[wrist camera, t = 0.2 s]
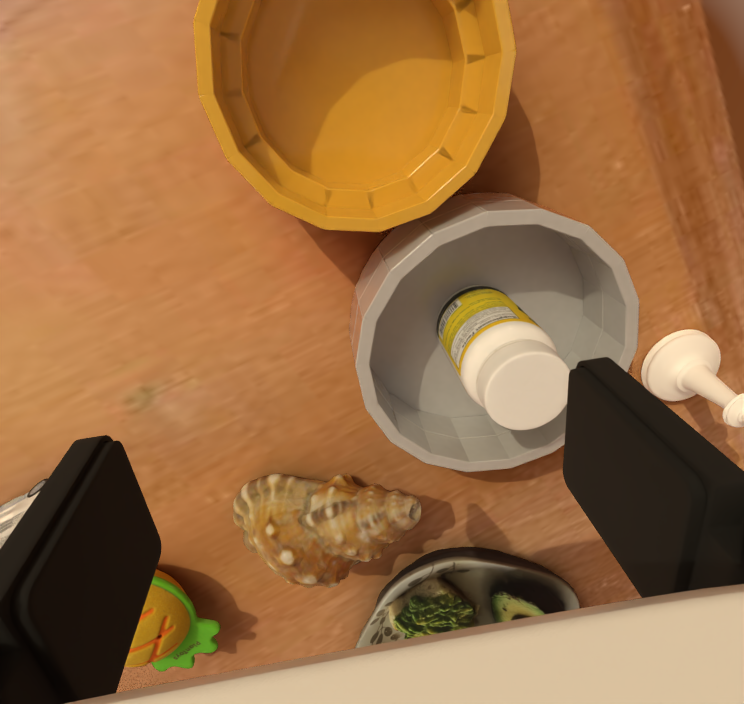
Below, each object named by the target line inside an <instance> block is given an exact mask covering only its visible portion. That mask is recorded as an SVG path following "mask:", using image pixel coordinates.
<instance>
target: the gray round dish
mask: <svg viewBox="0 0 744 704" xmlns="http://www.w3.org/2000/svg"><path fill="white" fill-rule="evenodd" d="M472 285H488V286H492V287H495V288H497V289H499V290H501V291H502V292H503V293H505V294H506V295H507V296H508V297H509V298H510V299H511V300H512V301H513V302H514V303H515V304H516V305H517V306H519V307H520V308H521V309H522V310H523V311H524V312H525V313H526V314H527V315H528V316H529V317H530V318H531V319H532V320H534V321H535V322H536V323H537V324H538V325H539V326H540V327H541V328H542V329H543V330H544V331H545V332H546V333H547V334H548V335H549V337H550V338H551V339H552V341H553V343H554V345H555V347H556V350H557V354H558V355H559V357H560V358H561V359H562V360H563V361H564V362H565V364H566V365H567V367H568V368H569V370H572V369H576V366H577V364H578V362H580V361H583V360H589V359H596V358H602V357H609V358H610V359H612V360H613V361H614V362H615V363H616V364H618V365H619V366H620V367H621V368H622V369H624V370H625V371H626V372H628V370H629V367H630V365H631V362H632V360H633V357H634V355H635V352H636V350H637V345H638V323H639V299H638V296H637V293H636V291H635V288H634V285H633V283H632V280H631V277H630V275H629V272H628V269H627V267H626V264H625V261H624V259H623V258H622V257H621V256H620V255H619V254H618V253H617V252H616V251H615V250H614V249H613V248H612V247H611V246H610V245H609V244H608V243H607V242H606V241H605V240H604V239H603V238H602V237H601V236H600V235H599V234H598V233H597V232H596V231H595V230H594V229H592V228H591V227H590V226H589V225H587V224H584V223H582V222H580V221H578V220H575V219H573V218H571V217H569V216H566V215H564V214H562V213H559V212H557V211H555V210H553V209H550V208H548V207H545V206H543V205H540V204H537V203H534V202H531V201H529V200H526V199H523V198H520V197H518V196H515V195H512V194H509V193H471V194H463V195H458V196H455V197H451V198H448V199H447V200H446V201H445V202H444V203H443V204H441V205H440V206H439V207H438V208H437V209H436V210H435V211H434V212H431V214H428V215H426V216H423V217H420V218H418V219H415V220H412V221H409V222H407V223H404V224H401V225H398V226H397V227H396V228H394V229H393V230H392V231H391V232H390V233H389V234H388V235H387V236H386V237H385V238H384V239H383V241H382V242H381V243H380V244H379V246H378V247H377V248H376V250H375V251H374V252H373V253H372V255H371V256H370V258H369V260H368V262H367V263H366V265H365V267H364V269H363V270H362V273H361V275H360V278H359V280H358V282H357V285H356V288H355V291H354V296H353V300H352V306H351V315H350V325H349V333H350V339H351V345H352V350H353V356H354V361H355V367H356V371H357V375H358V379H359V384H360V388H361V392H362V396H363V400H364V404H365V408H366V410H367V411H368V412H369V414H370V415H371V416H372V418H373V419H374V420H375V422H376V423H377V424H378V426H379V427H380V429H381V430H382V431H383V433H384V434H385V435H386V437H387V438H388V439H389V441H391V442H392V443H393V444H395V445H396V446H398V447H400V448H401V449H403V450H405V451H406V452H408V453H409V454H411V455H413V456H414V457H416V458H418V459H419V460H421V461H423V462H424V463H427V464H431V465H436V466H440V467H445V468H450V469H454V470H459V471H464V472H476V471H487V470H498V469H509V468H513V467H516V466H518V465H521V464H524V463H526V462H529V461H532V460H534V459H537V458H540V457H542V456H545V455H548V454H550V453H553V452H554V451H556V450H557V449H559V448H560V447H561V446H563V445H564V444H565V428H566V412H567V404H566V406H565V407H564V409H563V410H562V411H561V412H560V413H559V414H558V415H557V416H556V417H555V418H554V419H552V420H551V421H550V422H548V423H546V424H544V425H542V426H540V427H537V428H534V429H529V430H512V429H508V428H505V427H503V426H501V425H499V424H498V423H496V422H495V421H494V420H493V419H492V418H491V417H490V415H489V414H488V413H487V411H486V409H485V408H484V407H482V406H480V405H479V404H477V403H476V402H475V401H474V400H473V399H472V398H471V397H470V396H469V395H468V393H467V392H466V390H465V388H464V386H463V384H462V383H461V381H460V379H459V377H458V375H457V373H456V372H455V370H454V368H453V366H452V364H451V363H450V361H449V359H448V357H447V356H446V354H445V352H444V350H443V349H442V347H441V345H440V343H439V341H438V338H437V335H436V319H437V316H438V313H439V311H440V309H441V307H442V305H443V304H444V302H445V301H446V300H447V299H448V298H449V297H450V296H451V295H453V294H454V293H455V292H457V291H459V290H461V289H463V288H465V287H468V286H472Z"/></svg>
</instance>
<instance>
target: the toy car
mask: <svg viewBox="0 0 744 704" xmlns="http://www.w3.org/2000/svg"><path fill="white" fill-rule="evenodd" d="M47 480H48V479H44V480H42V481H41V482H39V483H38V484H37V485H36V486H34V487H33V488H32V489H31V490H30V492H28V493H27V494H25V495H24V496H19V497H17V498H15V499H13V500H11V501H9V502H7V503H6V504H4V505H2V506H0V549H1V547H2V546H3V544H4V543H5V541H6V540H7V538H8V537H9V536H10V534H11V533H12V531H13V530H14V528H15V527H16V525H17V524H18V522H19V521H20V520H21V518H22V517H23V515H24V514H25V512H26V511H27V509H28V508H29V507H30V505H31V504H32V502H33V501H34V499H35V498H36V496H37V495H38V493H39V492H40V491H41V489H42V488H43V486H44V485H45V483H46V482H47Z"/></svg>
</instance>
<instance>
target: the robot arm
mask: <svg viewBox="0 0 744 704" xmlns="http://www.w3.org/2000/svg"><path fill="white" fill-rule="evenodd" d="M563 475H564V479H565V482H566V485H567V487H568V488H569V490H570V491H571V493H572V494H573V496H574V497H575V499H576V500H577V502H578V503H579V505H580V506H581V508H582V509H583V511H584V512H585V514H586V515H587V517H588V518H589V520H590V521H591V523H592V524H593V526H594V527H595V528H596V530H597V531H598V533H599V534H600V536H601V537H602V539H603V540H604V542H605V543H606V545H607V546H608V548H609V549H610V551H611V552H612V554H613V555H614V557H615V558H616V560H617V561H618V563H619V564H620V566H621V567H622V569H623V570H624V572H625V573H626V574H627V576H628V577H629V579H630V580H631V582H632V583H633V585H634V586H635V588H636V589H637V591H638V592H639V594H640V595H641V597H642V598H640V599H633V600H627V601H621V602H614V603H608V604H603V605H597V606H591V607H586V608H580V609H574V610H568V611H563V612H557V613H551V614H546V615H540V616H534V617H528V618H523V619H517V620H511V621H505V622H500V623H494V624H488V625H483V626H477V627H471V628H466V629H460V630H454V631H449V632H443V633H438V634H432V635H427V636H421V637H415V638H410V639H404V640H399V641H393V642H388V643H382V644H377V645H371V646H366V647H360V648H355V649H349V650H344V651H338V652H333V653H327V654H322V655H316V656H311V657H305V658H299V659H294V660H289V661H283V662H278V663H272V664H267V665H262V666H256V667H251V668H246V669H240V670H235V671H230V672H224V673H219V674H214V675H208V676H203V677H197V678H192V679H187V680H181V681H176V682H171V683H165V684H160V685H155V686H149V687H144V688H138V689H134V690H129V691H124V692H119V693H116V690H117V687H118V684H119V681H120V678H121V675H122V672H123V669H124V666H125V663H126V660H127V657H128V654H129V651H130V647H131V644H132V641H133V638H134V635H135V632H136V629H137V626H138V623H139V620H140V617H141V614H142V611H143V608H144V604H145V601H146V598H147V595H148V592H149V589H150V586H151V583H152V580H153V577H154V574H155V571H156V568H157V565H158V562H159V558H160V555H161V540H160V537H159V534H158V532H157V529H156V527H155V524H154V522H153V519H152V517H151V514H150V512H149V509H148V507H147V504H146V502H145V499H144V497H143V494H142V492H141V489H140V487H139V484H138V482H137V479H136V477H135V474H134V472H133V469H132V467H131V465H130V462H129V460H128V457H127V455H126V452H125V450H124V447H123V445H122V444H121V442H120V441H113V440H112V439H111V438H110V436H107V435H105V436H98V437H92V438H85V439H79V440H76V441H75V442H74V443H73V444H72V446H71V447H70V448H69V450H68V451H67V453H66V454H65V456H64V457H63V459H62V460H61V462H60V463H59V464H58V466H57V467H56V469H55V470H54V472H53V473H52V475H51V476H50V477H49V479H48V480H47V482H46V483H45V485H44V486H43V488H42V489H41V491H40V492H39V493H38V495H37V496H36V498H35V499H34V501H33V502H32V504H31V505H30V507H29V508H28V509H27V511H26V512H25V514H24V515H23V517H22V518H21V520H20V521H19V522H18V524H17V525H16V527H15V528H14V530H13V531H12V533H11V534H10V536H9V537H8V538H7V540H6V541H5V543H4V544H3V546H2V547H1V549H0V704H744V471H743V470H741V469H740V468H739V467H738V466H737V465H736V464H734V463H733V462H732V461H731V460H730V459H729V458H727V457H726V456H725V455H724V454H723V453H721V452H720V451H719V450H718V449H717V448H716V447H714V446H713V445H712V444H711V443H710V442H708V441H707V440H706V439H705V438H704V437H703V436H701V435H700V434H699V433H698V432H697V431H695V430H694V429H693V428H692V427H691V426H690V425H688V424H687V423H686V422H685V421H684V420H683V419H681V418H680V417H679V416H678V415H677V414H675V413H674V412H673V411H672V410H671V409H670V408H668V407H667V406H666V405H665V404H664V403H662V402H661V401H660V400H659V399H658V398H657V397H655V396H654V395H653V394H652V393H651V392H650V391H648V390H647V389H646V388H645V387H644V386H642V385H641V384H640V383H639V382H638V381H637V380H635V379H634V378H633V377H632V376H631V375H629V374H628V373H627V372H626V371H625V370H624V369H622V368H621V367H620V366H619V365H618V364H616V363H615V362H614V361H613V360H612V359H610V358H609V357H602V358H596V359H589V360H583V361H580V362H578V364H577V366H576V369H572V370H570V373H569V379H568V396H567V412H566V428H565V445H564V461H563Z"/></svg>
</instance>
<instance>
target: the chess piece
mask: <svg viewBox="0 0 744 704" xmlns="http://www.w3.org/2000/svg"><path fill="white" fill-rule="evenodd" d="M720 360H721V355H720V350H719V347H718V345H717V344H716V343H715V341H714V340H712V339H711V338H710V337H709V336H708V335H707V334H705V333H703V332H701V331H698V330H692V329H687V330H681V331H677V332H674V333H672V334H670V335H668V336H666V337H664V338H663V339H661V340H660V341H659V342H658V343H656V344H655V345H654V346H653V348H652V349H651V350H650V351H649V353H648V354H647V356H646V358H645V360H644V362H643V365H642V369H641V379H642V383H643V385H644V387H645V388H646V389H647V390H648V391H650V392H651V393H652V394H653V395H655V396H656V397H658V398H660V399H662V400H666V401H680V400H684V399H687V398H690V397H692V396H694V395H696V394H699V395H700V396H702V397H704V398H706V399H708V400H710V401H712V402H713V403H715V404H717V405H719V406H720V407H722V408H724V410H723V420H724V422H725V423H726V424H728V425H730V426H733V427H744V393H743V394H740V395H737V394H736V393H734V392H733V391H732V390H731V389H730V388H729V387H728V386H726V385H725V384H724V383H723V382H722V381H721V380H720V379H719V378H718V377H717V376H716V373H717V371H718V369H719V366H720Z"/></svg>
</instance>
